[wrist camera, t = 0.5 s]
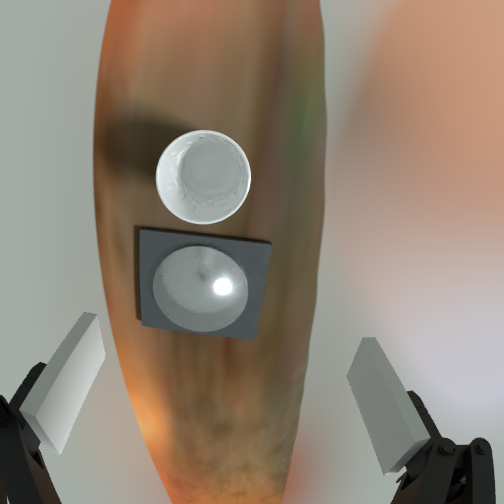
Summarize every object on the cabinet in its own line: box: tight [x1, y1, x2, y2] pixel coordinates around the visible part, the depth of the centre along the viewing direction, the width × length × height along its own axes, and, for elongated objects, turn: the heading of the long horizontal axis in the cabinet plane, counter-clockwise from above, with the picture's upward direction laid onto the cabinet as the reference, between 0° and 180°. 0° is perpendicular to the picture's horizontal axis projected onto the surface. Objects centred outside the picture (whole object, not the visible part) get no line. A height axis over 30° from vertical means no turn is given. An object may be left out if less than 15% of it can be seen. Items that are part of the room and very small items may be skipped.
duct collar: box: [140, 227, 272, 340], centre depth 37 cm, size 14×16×2 cm
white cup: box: [156, 130, 251, 224], centre depth 28 cm, size 8×8×10 cm
